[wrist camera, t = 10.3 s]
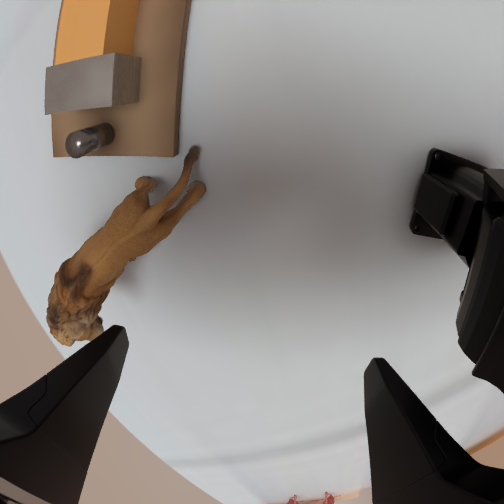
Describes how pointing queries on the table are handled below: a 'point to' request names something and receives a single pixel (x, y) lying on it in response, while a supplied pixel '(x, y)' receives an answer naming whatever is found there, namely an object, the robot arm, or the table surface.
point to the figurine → (330, 500)
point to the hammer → (94, 57)
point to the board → (150, 97)
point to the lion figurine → (114, 255)
